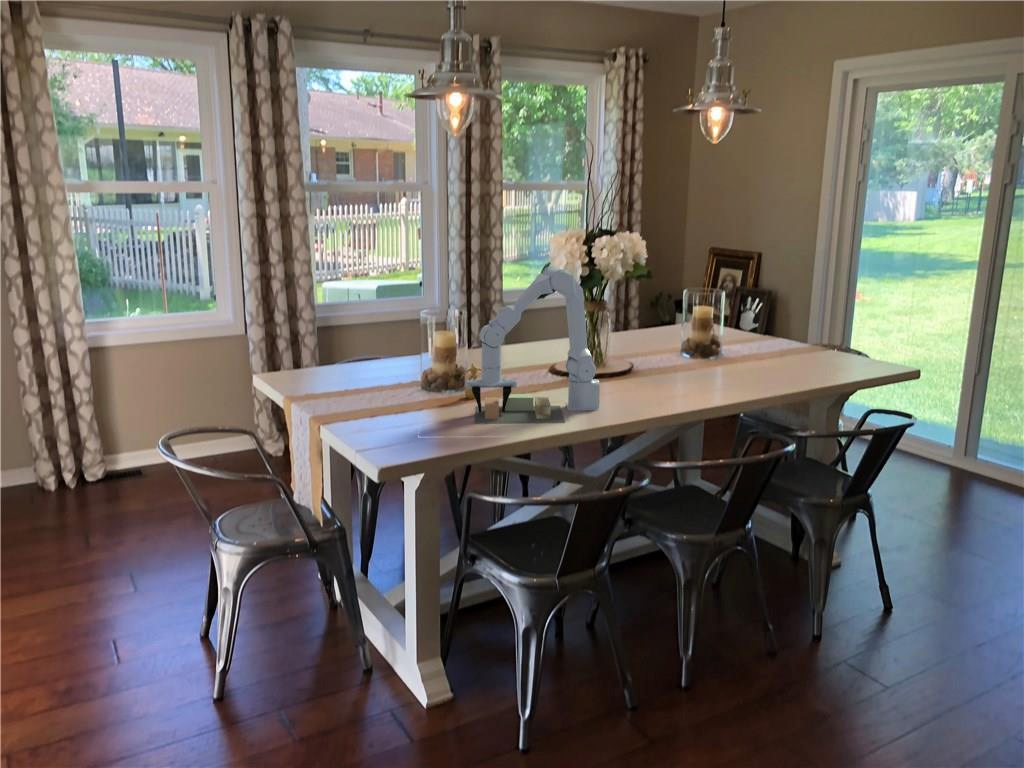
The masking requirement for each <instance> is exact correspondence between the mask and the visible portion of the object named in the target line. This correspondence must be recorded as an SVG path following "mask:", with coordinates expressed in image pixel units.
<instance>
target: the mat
mask: <svg viewBox="0 0 1024 768" xmlns="http://www.w3.org/2000/svg"><path fill="white" fill-rule="evenodd" d="M565 423H566V419H565V417H564V414H563V411H562V407H561V405H551V410H550V418H549V419H537V418H536V413H535V405H533V410H530V411H505V412H502V405H499V419H485V405H484V406H482V405H481V412H479V409H478V405H477V406H474V424H475V425H483V424H484V425H485V424H487V425H491V424H492V425H493V424H496V425H498V424H503V425H504V424H565Z"/></svg>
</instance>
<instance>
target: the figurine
mask: <svg viewBox="0 0 1024 768" xmlns="http://www.w3.org/2000/svg"><path fill="white" fill-rule="evenodd" d="M478 371H481V372H482V368H480V367H478V366H477V365H475V363H471V367H470V368H468V369H467V370H466V371H464V372H463V374H461V376H460V378H459V379H460V380H462V378H463V377H464V376H465V375H466V374H467V373H468V372H470V374H469V376H468V378H467V380H477V378H478V374H477V373H478ZM464 396H465V397H466V399H469V400H473V399H475V397H474V395H473V393H472V388H467V387H466V389H465V390H464Z"/></svg>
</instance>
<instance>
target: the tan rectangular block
mask: <svg viewBox="0 0 1024 768" xmlns="http://www.w3.org/2000/svg"><path fill="white" fill-rule="evenodd" d="M484 406H485V419H499V406H500V404H499V397H492V396H491V397H484Z"/></svg>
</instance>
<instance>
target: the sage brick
mask: <svg viewBox="0 0 1024 768" xmlns="http://www.w3.org/2000/svg"><path fill="white" fill-rule="evenodd" d="M533 406H534V395H533V393H531V394H530V393H528V394H527V393H526V394H525V393H517V394H516V393H514V394H513V393H510V395H509V397H508V400H507V403H506V407H505V411H530V410H533Z"/></svg>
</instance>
